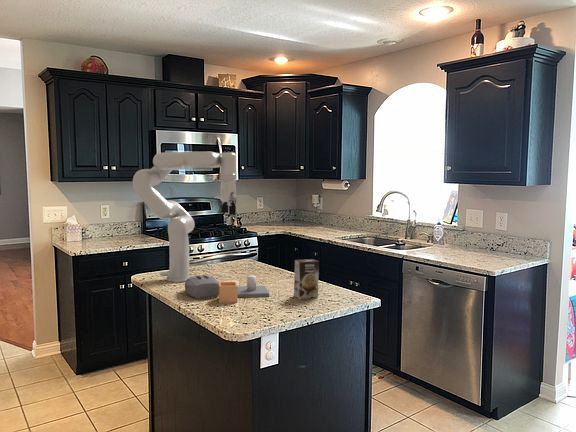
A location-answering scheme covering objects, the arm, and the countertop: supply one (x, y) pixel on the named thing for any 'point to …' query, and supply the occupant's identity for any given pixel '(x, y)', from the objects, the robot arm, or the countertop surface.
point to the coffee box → (306, 278)
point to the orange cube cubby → (228, 292)
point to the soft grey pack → (202, 287)
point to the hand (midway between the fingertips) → (228, 213)
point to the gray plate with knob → (252, 289)
